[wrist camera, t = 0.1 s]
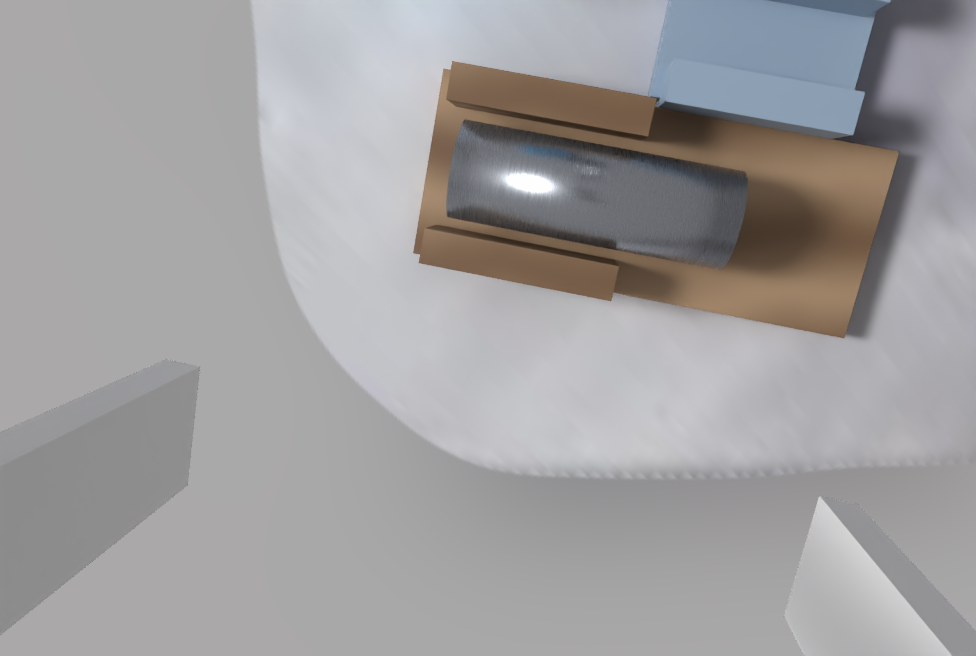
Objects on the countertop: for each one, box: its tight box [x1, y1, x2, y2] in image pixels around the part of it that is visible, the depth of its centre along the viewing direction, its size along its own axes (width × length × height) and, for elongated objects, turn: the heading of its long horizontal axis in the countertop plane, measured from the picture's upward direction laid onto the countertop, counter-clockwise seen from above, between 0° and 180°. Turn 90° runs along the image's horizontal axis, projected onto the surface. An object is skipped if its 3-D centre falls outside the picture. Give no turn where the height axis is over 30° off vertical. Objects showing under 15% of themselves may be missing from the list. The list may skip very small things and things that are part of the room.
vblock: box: [648, 0, 891, 139], centre depth 37 cm, size 8×10×4 cm
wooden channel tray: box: [413, 61, 899, 338], centre depth 38 cm, size 10×24×5 cm, turn 79°
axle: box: [446, 119, 748, 270], centre depth 37 cm, size 14×5×5 cm, turn 79°
